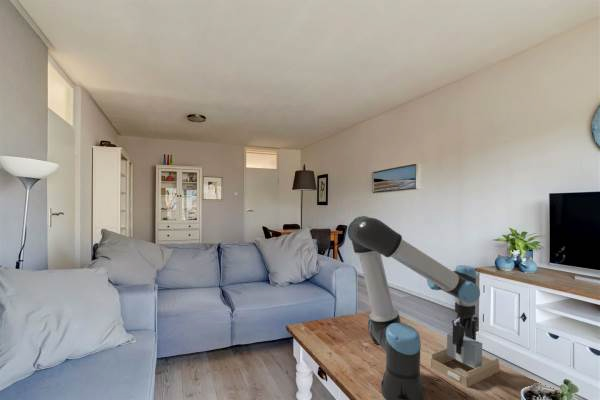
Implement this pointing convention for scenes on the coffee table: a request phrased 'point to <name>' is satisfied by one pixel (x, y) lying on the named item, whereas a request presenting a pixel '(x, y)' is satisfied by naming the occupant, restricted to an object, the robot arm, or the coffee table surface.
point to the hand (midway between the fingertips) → (463, 359)
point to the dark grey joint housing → (370, 330)
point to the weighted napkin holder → (466, 351)
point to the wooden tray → (472, 376)
